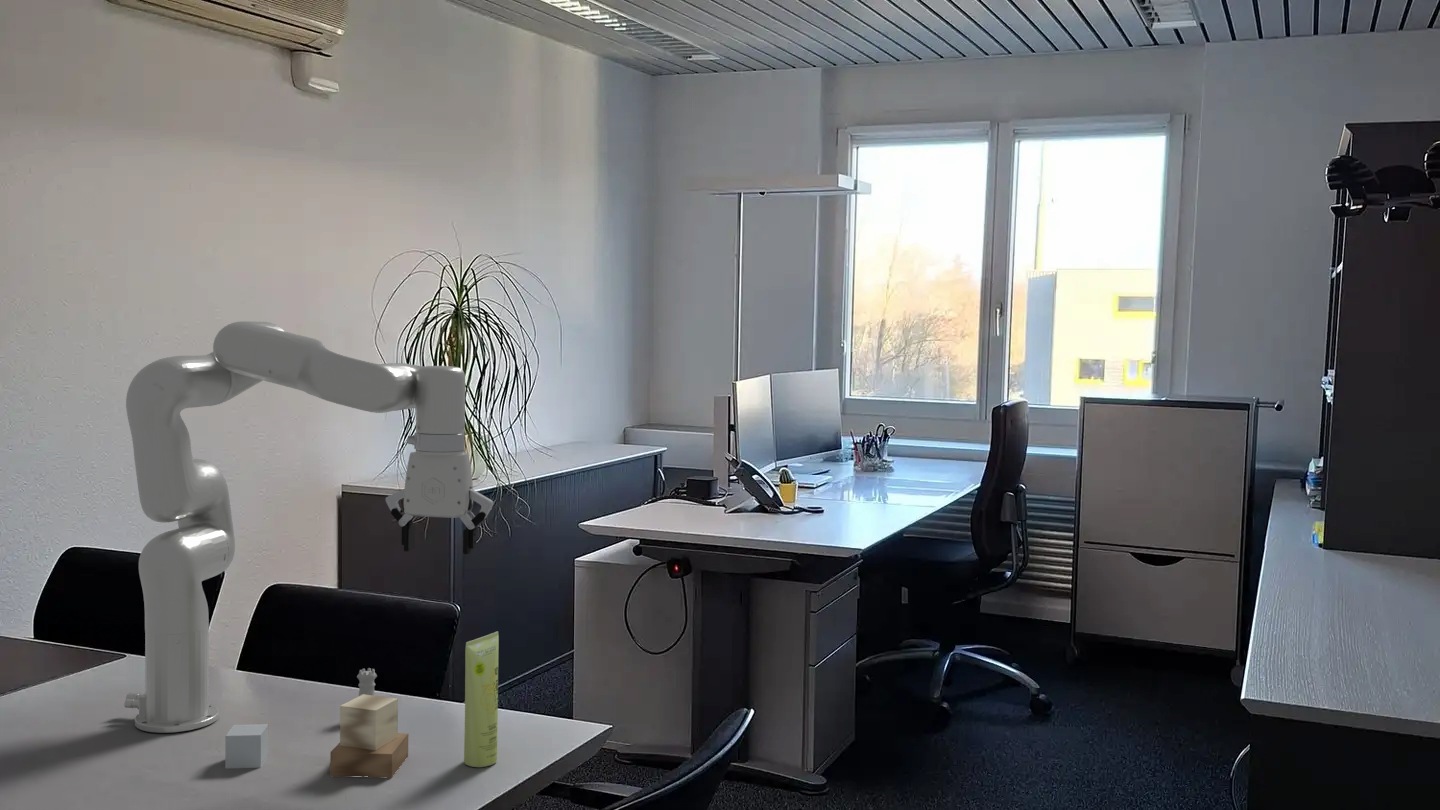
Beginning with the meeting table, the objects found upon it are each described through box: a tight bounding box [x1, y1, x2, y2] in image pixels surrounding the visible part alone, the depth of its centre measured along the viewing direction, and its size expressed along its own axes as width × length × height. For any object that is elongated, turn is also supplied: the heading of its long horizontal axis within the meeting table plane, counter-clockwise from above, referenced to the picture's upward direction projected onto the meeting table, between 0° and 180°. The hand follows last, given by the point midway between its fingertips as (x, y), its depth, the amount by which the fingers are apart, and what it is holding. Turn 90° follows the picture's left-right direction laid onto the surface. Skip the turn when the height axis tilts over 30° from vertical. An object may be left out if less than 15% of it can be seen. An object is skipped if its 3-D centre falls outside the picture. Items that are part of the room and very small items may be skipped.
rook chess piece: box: [356, 667, 378, 697], centre depth 202 cm, size 4×4×8 cm
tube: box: [463, 631, 500, 768], centre depth 182 cm, size 6×5×20 cm
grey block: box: [224, 723, 269, 769], centre depth 180 cm, size 5×5×5 cm
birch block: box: [339, 694, 399, 750], centre depth 180 cm, size 6×6×6 cm
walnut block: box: [329, 732, 409, 779], centre depth 180 cm, size 9×9×4 cm
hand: (438, 551), depth 191 cm, fingers open, 9 cm apart
